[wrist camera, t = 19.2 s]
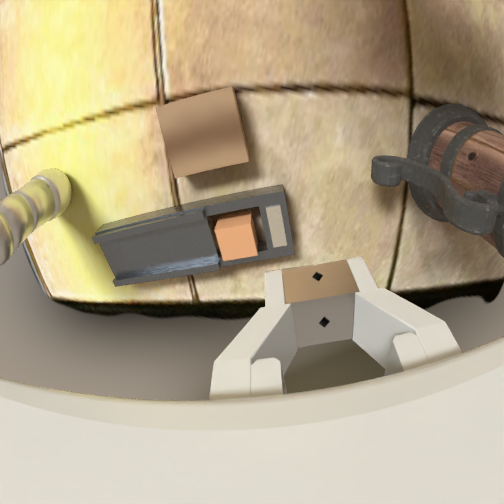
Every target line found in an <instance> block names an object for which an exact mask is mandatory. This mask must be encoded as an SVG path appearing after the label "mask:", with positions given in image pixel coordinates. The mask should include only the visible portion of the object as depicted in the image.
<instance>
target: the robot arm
mask: <svg viewBox="0 0 504 504" xmlns="http://www.w3.org/2000/svg"><path fill="white" fill-rule="evenodd" d="M264 281H265V307H263V308H260V309H259V310H258V311H257V313H256V314H255V315H254V316H253V317H252V319H251V320H250V321H249V322H248V323H247V324H246V326H245V327H244V328H243V329H242V330H241V331H240V333H239V334H238V335H237V336H236V338H235V339H234V340H233V341H232V342H231V343H230V344H229V345H228V347H227V348H226V349H225V350H224V351H223V352H222V353H221V355H220V356H219V357H218V358H217V359H216V360H215V362H214V366H213V374H212V382H211V390H210V399H209V400H150V399H133V398H119V397H108V396H99V395H90V394H82V393H75V392H68V391H62V390H56V389H50V388H45V387H40V386H35V385H30V384H25V383H21V382H17V381H13V380H9V379H5V378H2V377H0V504H504V336H503V337H500V338H498V339H496V340H494V341H491V342H488V343H486V344H484V345H481V346H479V347H476V348H473V349H471V350H468V351H465V352H463V353H462V352H461V350H460V348H459V346H458V344H457V342H456V340H455V339H454V337H453V335H452V333H451V331H450V330H449V328H448V326H447V324H446V323H445V321H443V320H441V319H439V318H437V317H436V316H434V315H432V314H430V313H429V312H427V311H425V310H423V309H421V308H420V307H418V306H416V305H414V304H412V303H411V302H409V301H407V300H405V299H403V298H401V297H400V296H398V295H396V294H394V293H392V292H390V291H388V290H387V289H385V288H378V286H377V284H376V282H375V280H374V278H373V276H372V275H371V273H370V271H369V269H368V267H367V265H366V263H365V261H364V259H363V257H361V256H359V257H354V258H349V259H345V260H340V261H335V262H329V263H323V264H317V265H308V266H301V267H293V268H286V269H282V270H281V269H278V270H272V271H265V274H264ZM347 339H353V341H354V342H356V343H357V344H358V345H359V346H360V347H361V348H362V349H363V350H364V351H366V352H367V353H368V354H369V355H370V356H371V357H372V358H373V359H375V360H376V361H377V362H378V363H379V364H380V365H381V366H382V367H384V368H385V373H384V377H379V378H375V379H371V380H366V381H362V382H357V383H352V384H347V385H342V386H337V387H331V388H326V389H319V390H313V391H306V392H299V393H291V394H287V392H286V387H285V382H284V377H283V375H284V373H285V372H286V370H287V368H288V366H289V364H290V362H291V361H292V358H293V357H294V355H295V353H296V351H297V348H300V347H305V346H311V345H316V344H322V343H328V342H334V341H341V340H347Z"/></svg>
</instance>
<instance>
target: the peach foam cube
mask: <svg viewBox="0 0 504 504" xmlns="http://www.w3.org/2000/svg"><path fill="white" fill-rule="evenodd" d="M215 234H216V237H217V241H218V244H219V247H220V251H221V254H222V258H223V261H227V260H233V259H239V258H245V257H252V256H258V239H257V234H256V229H255V225H254V220H253V216H252V211H251V210H250V211H244V212H239V213H233V214H228V215H223V216H219V217H218V221H217V224H216V227H215Z"/></svg>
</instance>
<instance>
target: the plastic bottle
mask: <svg viewBox="0 0 504 504" xmlns="http://www.w3.org/2000/svg"><path fill="white" fill-rule="evenodd" d="M71 193H72V190H71V184H70V181H69V179H68V177H67V176H66V175H65V174H64V173H63V172H62V171H60V170H58V169H55V168H51V169H46V170H42V171H41V172H39V173H38V174H37V175H35V176H34V177H33V178H32V179H31V180H30V181H29V182H28V183H26V184H25V185H24V186H22V187H21V188H20V189H18V190H17V191H15V192H14V193H12V194H10V195H8V196H6V197H4V198H3V199H0V266H1V265H3V264H5V263H6V262H7V261H8V260H9V258H10V257H11V256H12V254H13V253H14V252H15V251H16V249H17V248H18V247H19V245H20V244H21V243H22V242H23V241H24V240H25V239H26V238H27V237H28V236H29V235H30V234H31V233H32V232H33V231H34V230H35V229H37V228H38V227H40V226H41V225H43V224H44V223H46V222H47V221H50V220H52V219H54V218H56V217H58V216H60V215H61V214H62V213H63V212H64V211H65V209H66V208H67V207H68V205H69V203H70V200H71Z"/></svg>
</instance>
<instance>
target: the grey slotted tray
mask: <svg viewBox="0 0 504 504" xmlns="http://www.w3.org/2000/svg"><path fill="white" fill-rule="evenodd" d="M257 206H259V210H260V214H261V219H262V224H263V228H264V233H265V238H266V241H260V242H258V256H252V257H245V258H239V259H233V260H227V261H223V258H222V254H221V251H220V247H219V244H218V241H217V237H216V234H215V227H214V223H213V220H212V216H211V215H216V214H221V213H226V212H231V211H236V210H241V209H246V208H252V207H257ZM92 238H93V241H94V243H95V244H97V243H100V245H101V248H102V250H103V252H104V254H105V256H106V258H107V261H108V263H109V265H110V267H111V269H112V271H113V273H114V275H115V278H114V280H113V283H114V285H115V287H116V286H123V285H129V284H136V283H142V282H149V281H155V280H161V279H168V278H174V277H180V276H186V275H193V274H199V273H205V272H211V271H217V270H220V267H224V266H230V265H236V264H242V263H248V262H254V261H259V260H265V259H271V258H277V257H283V256H289V255H294V254H295V253H294V247H293V241H292V235H291V228H290V222H289V217H288V211H287V205H286V199H285V193H284V189H283V185H282V184H281V185H276V186H270V187H265V188H259V189H254V190H249V191H244V192H239V193H234V194H229V195H224V196H219V197H214V198H210V199H205V200H200V201H196V202H191V203H187V204H183V205H178V206H174V207H170V208H166V209H161V210H157V211H153V212H149V213H145V214H141V215H137V216H133V217H130V218H126V219H122V220H118V221H114V222H111V223H107V224H103V225H102V226H101V227H100V228H99V229H98V230H97V231H96V232H95V235H94V236H93V237H92Z"/></svg>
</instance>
